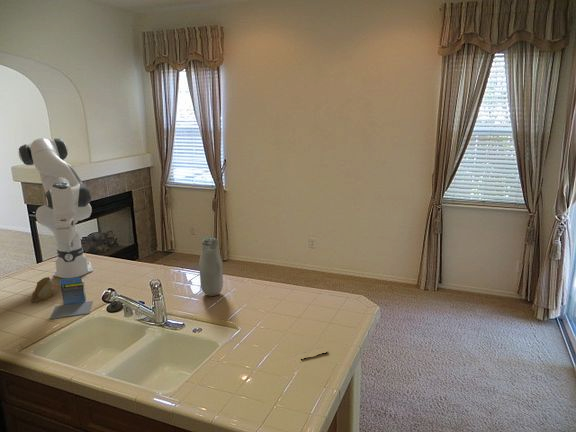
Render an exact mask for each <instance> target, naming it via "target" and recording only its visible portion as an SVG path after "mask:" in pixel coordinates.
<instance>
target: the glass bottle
mask: <svg viewBox="0 0 576 432" xmlns="http://www.w3.org/2000/svg"><path fill="white" fill-rule="evenodd" d="M200 253H201V254H200V257H199V262H198V264H199V265H198V266H199V267H198V268H199V279H200V281H199V283H200V289H201V291H202V292H203V294H204V295H206V296H209V297H214V296H217V295H219V294H220V293H221V292H222V290H223V285H224V275H223V269H224V267H223V260H222V256H221V252H220V248H219V241H218V239H217V238H215V237H214V236H208V237H205V238H203V239H202V241H201V252H200Z"/></svg>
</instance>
